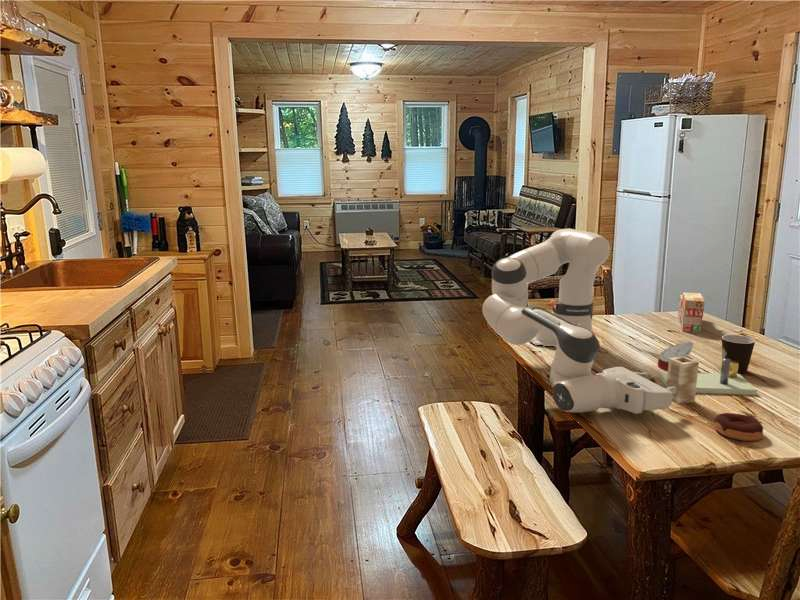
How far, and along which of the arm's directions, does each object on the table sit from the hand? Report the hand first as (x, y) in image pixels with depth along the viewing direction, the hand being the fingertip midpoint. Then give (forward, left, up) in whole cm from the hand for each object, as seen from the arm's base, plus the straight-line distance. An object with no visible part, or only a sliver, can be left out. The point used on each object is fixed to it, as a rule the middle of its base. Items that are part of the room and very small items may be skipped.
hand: (661, 382), depth 153 cm
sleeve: (+6, +3, -6) cm, 9 cm away
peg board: (+16, +14, -6) cm, 22 cm away
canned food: (+12, +28, -6) cm, 31 cm away
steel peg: (+20, +12, -4) cm, 24 cm away
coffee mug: (+29, +28, -6) cm, 41 cm away
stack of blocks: (+31, +77, -6) cm, 83 cm away
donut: (+13, -16, -6) cm, 21 cm away
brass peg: (+24, +18, -4) cm, 31 cm away
